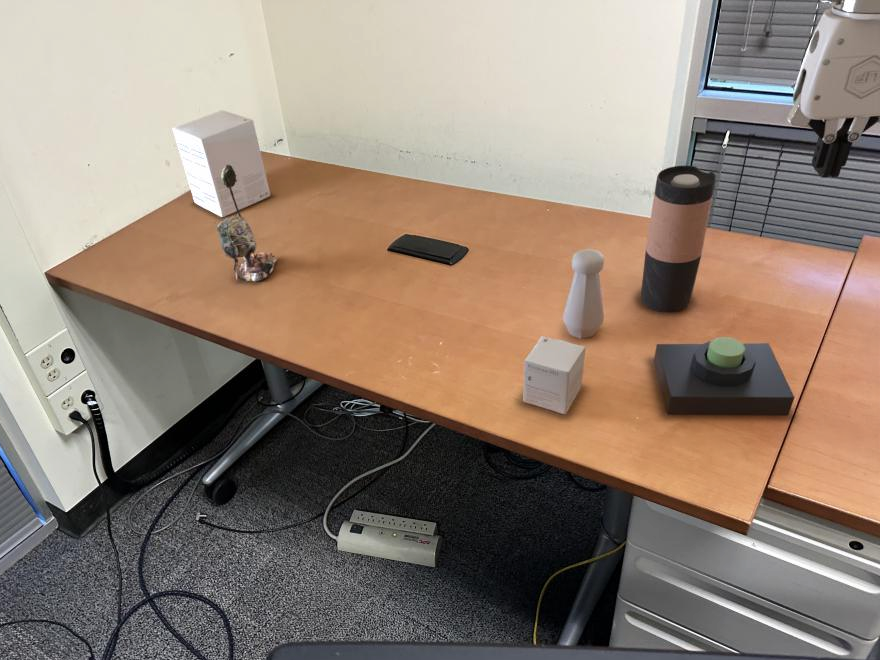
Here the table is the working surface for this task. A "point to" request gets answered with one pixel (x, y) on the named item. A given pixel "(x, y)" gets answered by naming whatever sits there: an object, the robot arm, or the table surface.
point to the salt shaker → (585, 295)
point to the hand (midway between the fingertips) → (825, 172)
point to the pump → (725, 352)
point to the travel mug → (676, 237)
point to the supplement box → (222, 161)
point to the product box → (553, 374)
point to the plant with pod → (242, 240)
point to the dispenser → (721, 382)
